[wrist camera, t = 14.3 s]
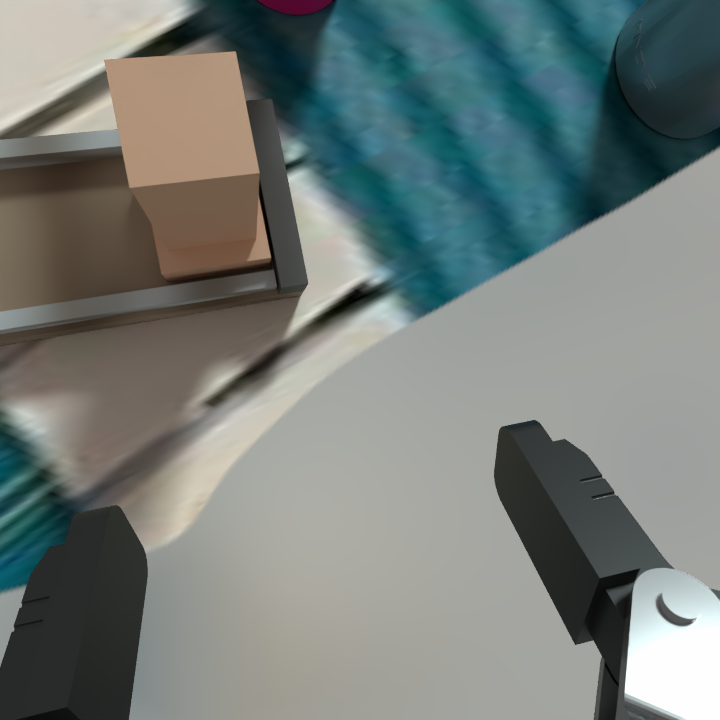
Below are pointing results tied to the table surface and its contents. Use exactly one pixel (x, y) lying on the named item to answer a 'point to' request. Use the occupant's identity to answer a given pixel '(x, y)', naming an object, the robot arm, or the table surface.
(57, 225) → the track
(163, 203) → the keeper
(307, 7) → the pepper mill
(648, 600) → the robot arm
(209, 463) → the table surface
